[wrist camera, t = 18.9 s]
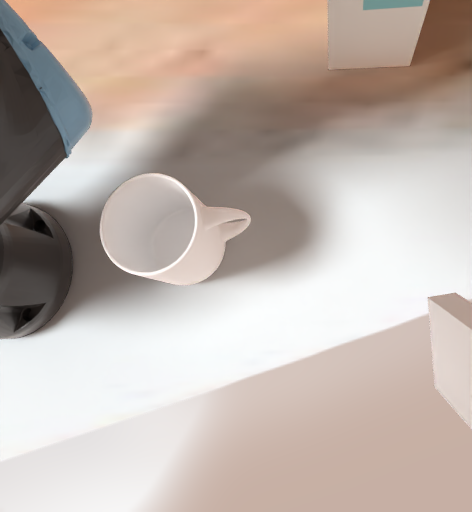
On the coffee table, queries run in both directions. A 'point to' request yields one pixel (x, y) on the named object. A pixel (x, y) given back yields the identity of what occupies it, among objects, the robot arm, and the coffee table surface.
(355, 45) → the tall white pillar
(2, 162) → the robot arm
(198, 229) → the mug
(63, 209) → the coffee table surface
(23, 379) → the coffee table surface
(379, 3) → the block
